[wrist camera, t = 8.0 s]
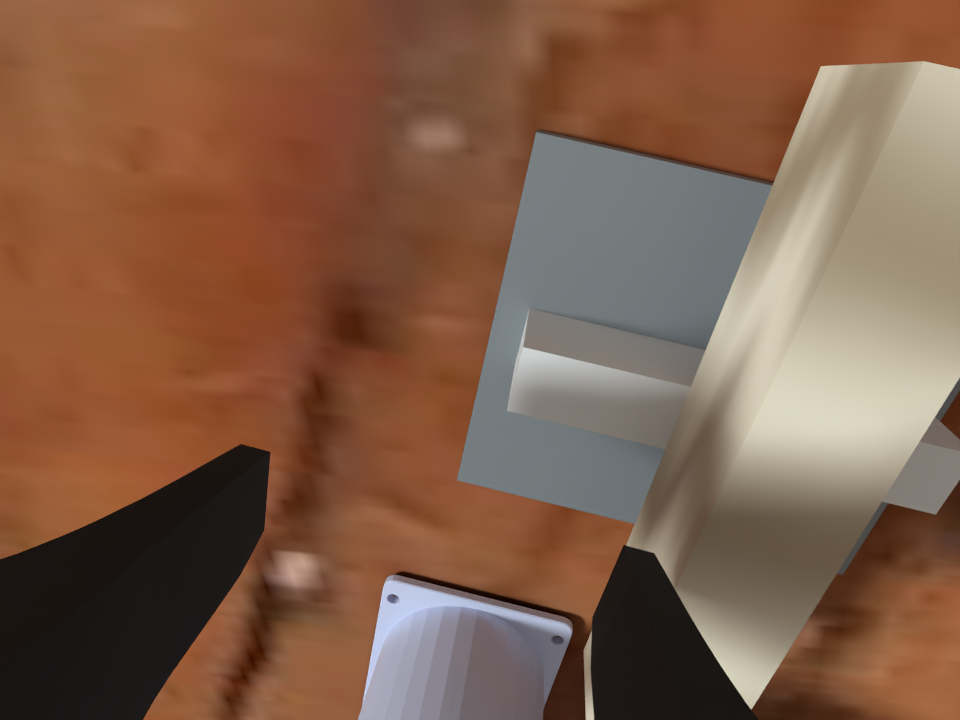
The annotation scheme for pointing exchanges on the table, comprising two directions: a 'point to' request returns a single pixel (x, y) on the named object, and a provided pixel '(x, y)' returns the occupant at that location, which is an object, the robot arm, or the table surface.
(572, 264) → the grey stepped base
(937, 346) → the birch beam
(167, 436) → the table surface
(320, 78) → the table surface
